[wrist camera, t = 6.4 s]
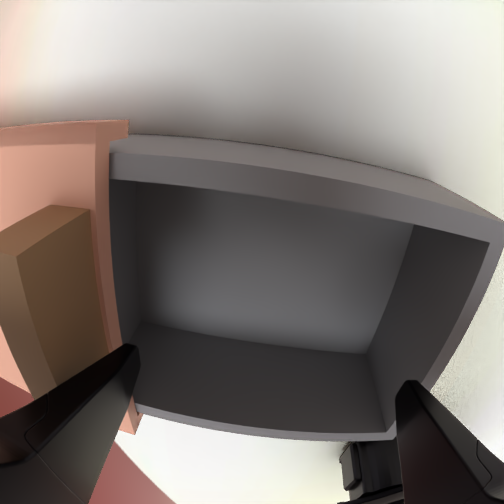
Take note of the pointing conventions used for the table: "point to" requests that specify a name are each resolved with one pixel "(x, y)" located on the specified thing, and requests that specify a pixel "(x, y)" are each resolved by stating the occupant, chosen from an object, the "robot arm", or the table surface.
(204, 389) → the base
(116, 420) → the robot arm
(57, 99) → the table surface
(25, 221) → the lid
